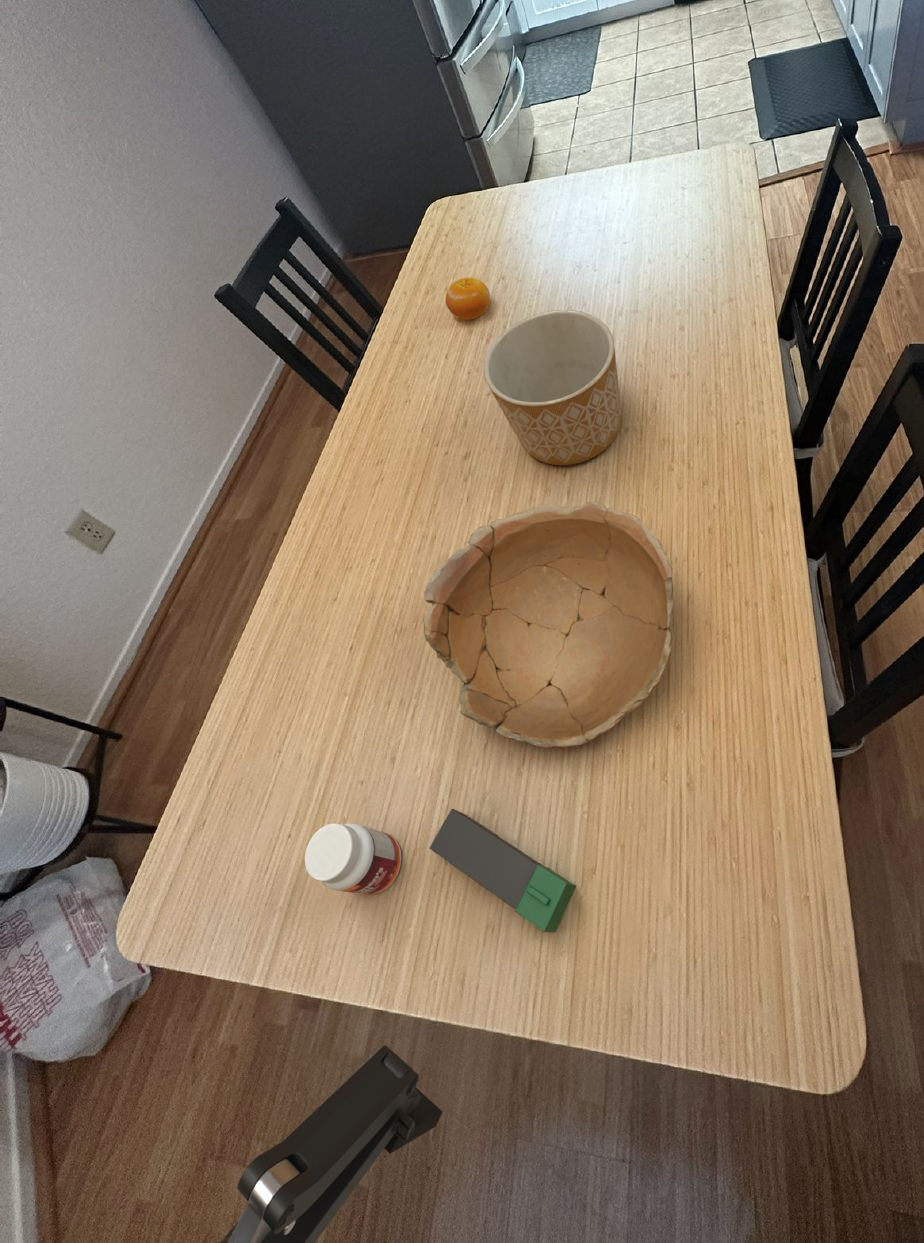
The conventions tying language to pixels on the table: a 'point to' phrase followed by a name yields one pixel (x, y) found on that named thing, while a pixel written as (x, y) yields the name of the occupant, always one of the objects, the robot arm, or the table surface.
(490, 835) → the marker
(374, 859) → the pill bottle
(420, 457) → the table surface
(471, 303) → the fruit
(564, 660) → the ceramic bowl
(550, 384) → the planter
